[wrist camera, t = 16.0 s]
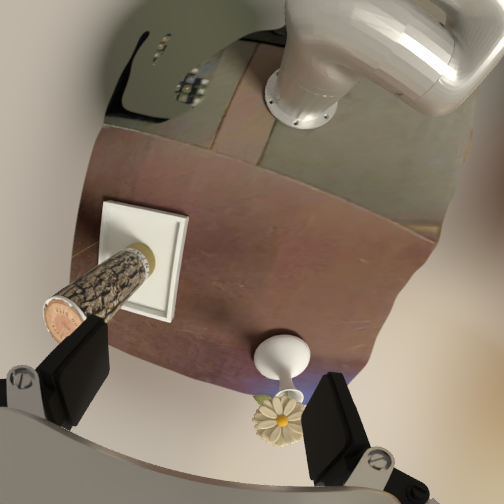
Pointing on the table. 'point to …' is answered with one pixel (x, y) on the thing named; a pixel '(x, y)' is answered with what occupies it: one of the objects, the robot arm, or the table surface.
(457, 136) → the table surface
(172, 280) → the tray
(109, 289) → the paper tube
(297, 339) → the flower in vase
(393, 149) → the table surface
